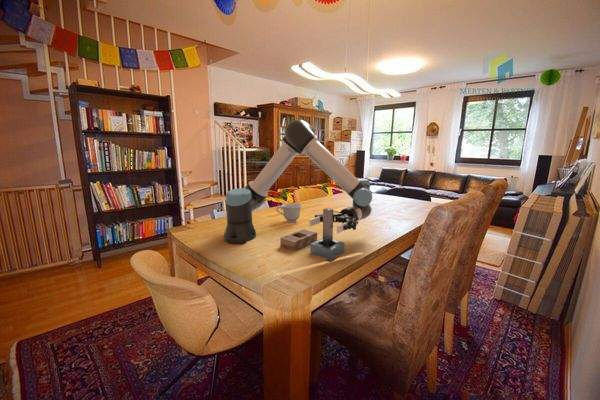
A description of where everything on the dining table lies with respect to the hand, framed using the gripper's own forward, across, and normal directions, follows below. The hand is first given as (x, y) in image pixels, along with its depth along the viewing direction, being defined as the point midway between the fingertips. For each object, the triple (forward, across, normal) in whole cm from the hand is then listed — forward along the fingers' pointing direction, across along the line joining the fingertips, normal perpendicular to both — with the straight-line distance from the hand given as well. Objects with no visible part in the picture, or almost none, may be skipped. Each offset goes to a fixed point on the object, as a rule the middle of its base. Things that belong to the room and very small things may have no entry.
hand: (323, 226), depth 100 cm
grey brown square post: (-3, 0, -12) cm, 12 cm away
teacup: (-29, +44, -13) cm, 54 cm away
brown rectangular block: (-3, +15, -13) cm, 20 cm away
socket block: (-3, 0, -13) cm, 13 cm away
